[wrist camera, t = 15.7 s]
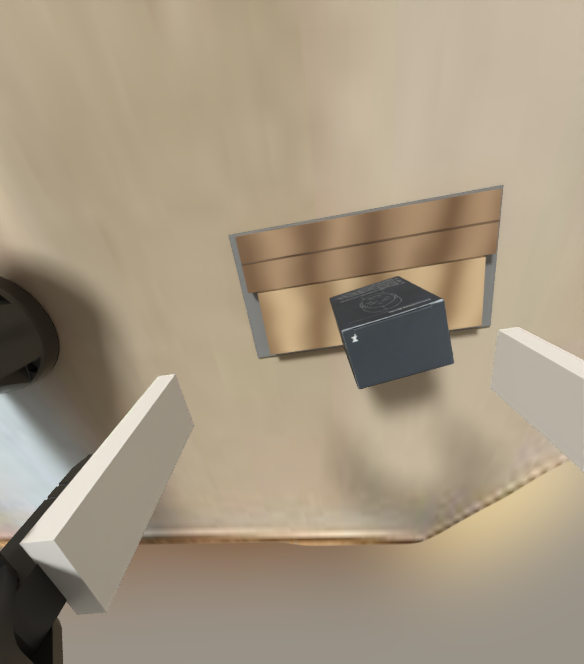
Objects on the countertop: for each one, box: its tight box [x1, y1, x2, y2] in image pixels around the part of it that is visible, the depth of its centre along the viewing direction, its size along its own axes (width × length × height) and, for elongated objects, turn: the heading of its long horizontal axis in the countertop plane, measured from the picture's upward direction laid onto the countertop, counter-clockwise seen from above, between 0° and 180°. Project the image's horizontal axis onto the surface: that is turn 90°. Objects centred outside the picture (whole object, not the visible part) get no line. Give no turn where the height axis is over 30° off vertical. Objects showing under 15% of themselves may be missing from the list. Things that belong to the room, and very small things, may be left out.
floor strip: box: [235, 189, 502, 293], centre depth 30 cm, size 26×6×2 cm, turn 100°
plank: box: [258, 255, 486, 355], centre depth 32 cm, size 24×8×2 cm, turn 100°
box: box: [329, 276, 454, 389], centre depth 27 cm, size 8×6×11 cm
